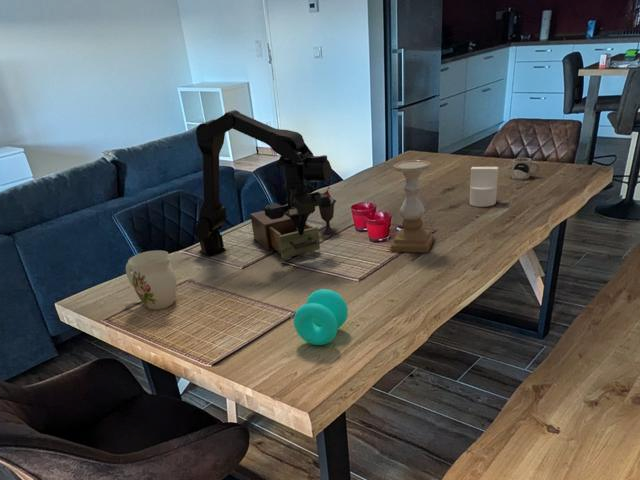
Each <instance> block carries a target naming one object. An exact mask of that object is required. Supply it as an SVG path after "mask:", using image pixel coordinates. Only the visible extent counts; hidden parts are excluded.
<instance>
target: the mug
mask: <svg viewBox="0 0 640 480" xmlns="http://www.w3.org/2000/svg"><path fill="white" fill-rule="evenodd" d="M533 165H535V166H536V171H532V172H531V168H532V167H531V166H533ZM540 169H541V165H540V162H539V161H533V160H532V158H529V157H517V158H513V159H512V167H511V179H512V180H517V181H523V180H528V179H530V176H537V175H538V174H539V173H540Z"/></svg>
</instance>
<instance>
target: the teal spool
mask: <svg viewBox="0 0 640 480" xmlns="http://www.w3.org/2000/svg"><path fill="white" fill-rule="evenodd" d="M348 315H349V309H348V306H347V303H346V301H345V299H344V298H343V297H342V295H340V294H339V293H338V292H336V291H334V290H331V289H329V288H328V289H327V288H320V289H317V290H315V291H313V292H312V293H310V294H309V296H308V298H307V299H306V303H305V304H303V305H301V306H300V307H298V309H297V310H296V312H295V314H294V317H293V326H294V329H295V331H296V333H297V335H298V336H299V337H300V338H301V339H302V340H303V341H304V342H306V343H307V344H309V345H313V346H324V345H327V344H329V343H331V342H332V341H333V340H334V339H335V337H336V336H337V333H338V329H339V328H341V327H342V326H343V325H344V324H345V323H346V321H347V319H348Z"/></svg>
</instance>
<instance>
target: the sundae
mask: <svg viewBox="0 0 640 480" xmlns="http://www.w3.org/2000/svg"><path fill="white" fill-rule="evenodd" d="M329 189H331V187H330V186H328V187H327V189H326V191H325V192H323V194H325V195H327V196H328V197H330V199H331V206H330V207H326V208H321V207H320V206H318V209H319V214H320V219H321V220H322V221H324V222H325V228H323V229H322V230H321V231H320V232H321V234H323V235H324V234H325V235H330V234H334V233H336V232H337V229H335V228H332V227H331V223H330V222H331V220H333V218H334V213H335V204H336V203H337V199H334V198H333V197H332V195H331V193H330V191H329Z"/></svg>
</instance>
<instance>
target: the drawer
mask: <svg viewBox="0 0 640 480" xmlns="http://www.w3.org/2000/svg"><path fill="white" fill-rule="evenodd" d="M267 228H268V234H269V241H270V245H271V246H272V247H273V248H274V249H275V251H277V252H278V253H279V254H280V257H281V259H286V258H291V257H295V256H299V255H302V254H307V253H310V252H314V251H319V250H321V245H320V234H319V227H318V226H312V225H311V224H309V223H307V222H306V224H305V229H304V233H303V235H299V233H298V231H297V229H296V227H295V225H294V224H293V222H292V221H289V222H285V223H281V224H276V225H272V226H268V227H267ZM287 233H288V234H287Z"/></svg>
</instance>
